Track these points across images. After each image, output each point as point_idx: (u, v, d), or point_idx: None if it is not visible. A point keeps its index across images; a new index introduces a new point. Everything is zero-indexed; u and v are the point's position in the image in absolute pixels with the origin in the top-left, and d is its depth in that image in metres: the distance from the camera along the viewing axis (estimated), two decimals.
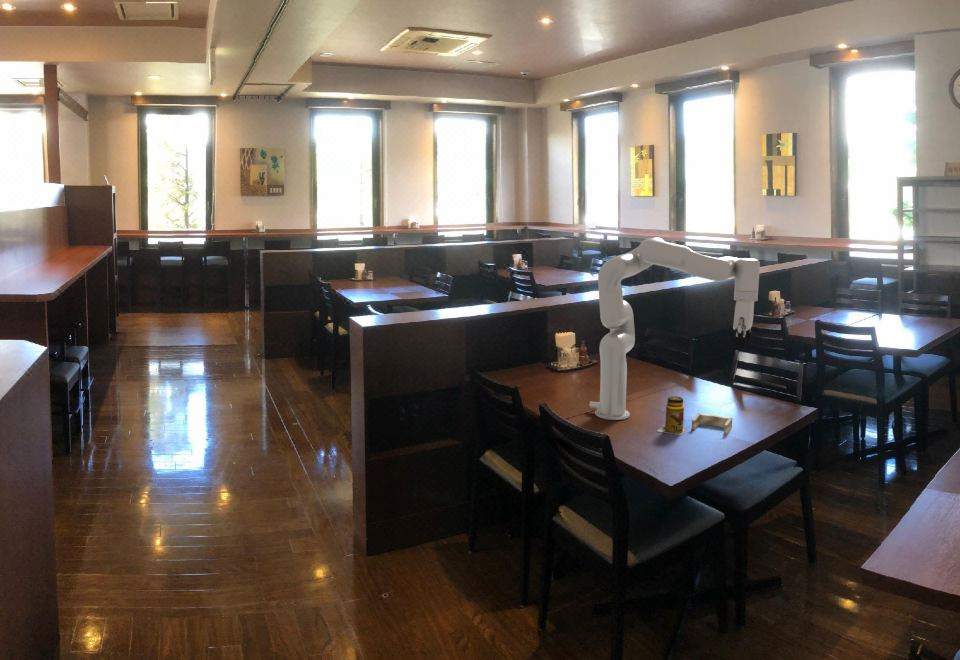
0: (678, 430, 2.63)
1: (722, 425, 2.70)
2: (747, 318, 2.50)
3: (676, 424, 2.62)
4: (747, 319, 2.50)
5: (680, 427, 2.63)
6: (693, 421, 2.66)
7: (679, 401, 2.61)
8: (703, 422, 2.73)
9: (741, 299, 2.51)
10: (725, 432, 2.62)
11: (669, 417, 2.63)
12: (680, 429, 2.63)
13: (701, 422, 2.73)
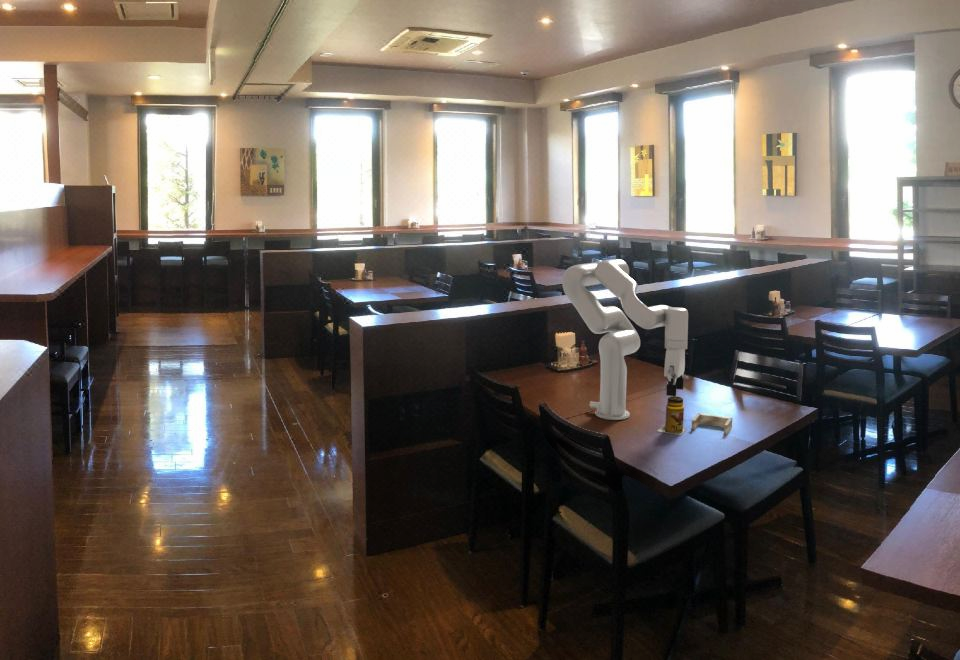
0: (678, 430, 2.63)
1: (722, 425, 2.70)
2: (677, 366, 2.57)
3: (676, 424, 2.62)
4: (677, 367, 2.57)
5: (680, 427, 2.63)
6: (693, 421, 2.66)
7: (679, 401, 2.61)
8: (703, 422, 2.73)
9: (671, 348, 2.58)
10: (725, 432, 2.62)
11: (669, 417, 2.63)
12: (680, 429, 2.63)
13: (701, 422, 2.73)
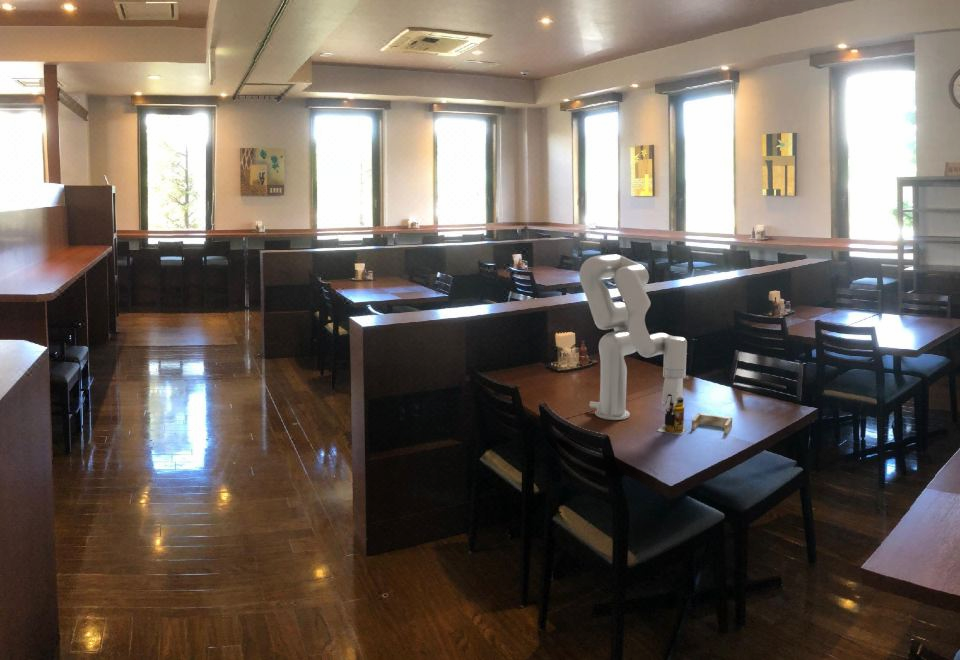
0: (678, 430, 2.63)
1: (722, 425, 2.70)
2: (674, 395, 2.59)
3: (676, 424, 2.63)
4: (674, 396, 2.59)
5: (680, 427, 2.63)
6: (693, 421, 2.66)
7: (679, 401, 2.62)
8: (703, 422, 2.73)
9: (669, 376, 2.60)
10: (725, 432, 2.62)
11: None
12: (680, 429, 2.63)
13: (701, 422, 2.73)
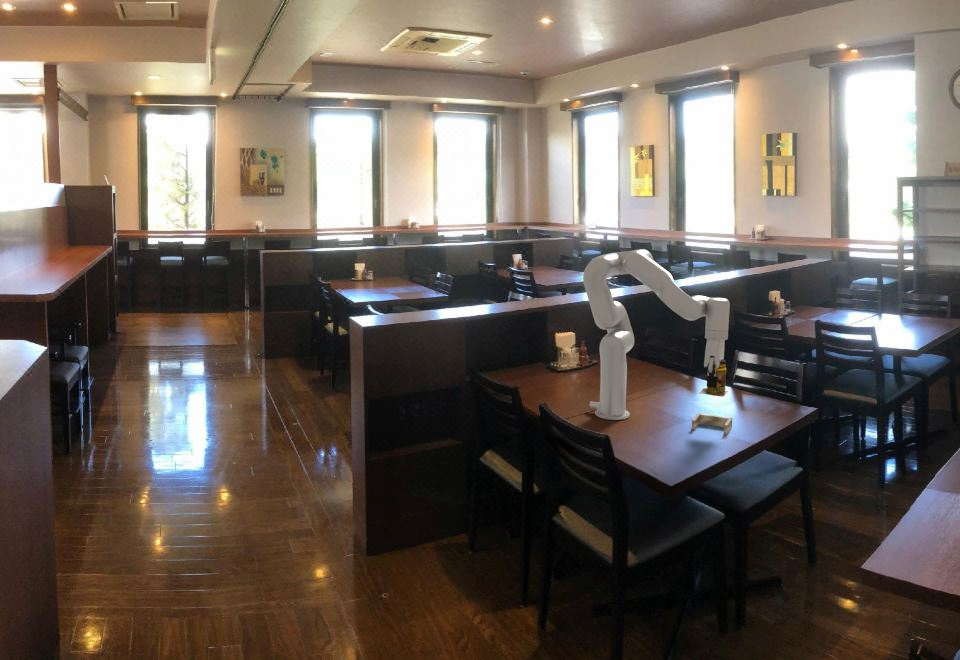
0: (720, 392, 2.61)
1: (722, 425, 2.70)
2: (717, 356, 2.57)
3: (718, 386, 2.61)
4: (717, 357, 2.57)
5: (722, 389, 2.62)
6: (693, 421, 2.66)
7: (722, 362, 2.60)
8: (703, 422, 2.73)
9: (711, 338, 2.58)
10: (725, 432, 2.62)
11: None
12: (722, 391, 2.62)
13: (701, 422, 2.73)
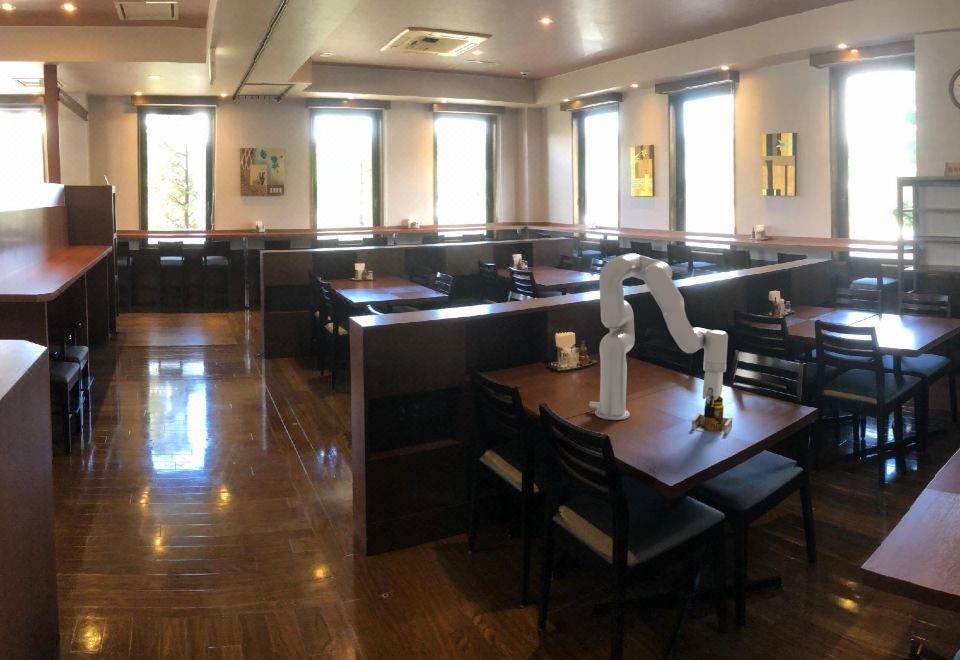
0: (718, 429, 2.64)
1: (722, 425, 2.70)
2: (715, 389, 2.59)
3: (715, 423, 2.63)
4: (715, 390, 2.59)
5: (720, 426, 2.64)
6: (693, 421, 2.66)
7: (719, 400, 2.62)
8: (703, 422, 2.73)
9: (710, 370, 2.60)
10: (725, 432, 2.62)
11: None
12: (720, 428, 2.64)
13: (701, 422, 2.73)
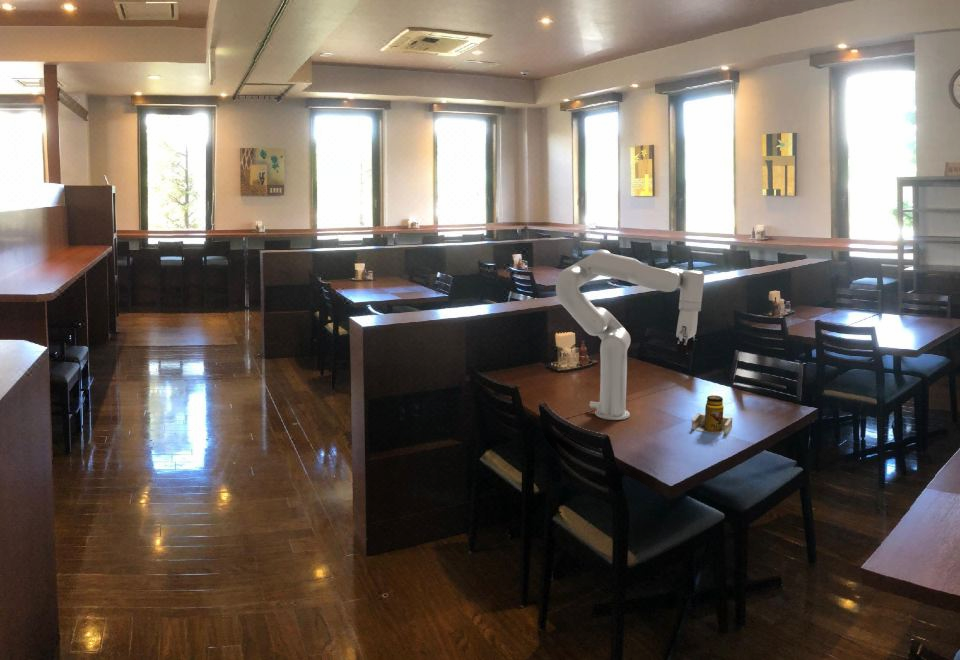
0: (718, 429, 2.64)
1: (722, 425, 2.70)
2: (689, 327, 2.64)
3: (715, 423, 2.63)
4: (689, 328, 2.64)
5: (720, 426, 2.64)
6: (693, 421, 2.66)
7: (719, 400, 2.62)
8: (703, 422, 2.73)
9: (684, 309, 2.65)
10: (725, 432, 2.62)
11: (709, 416, 2.64)
12: (720, 428, 2.64)
13: (701, 422, 2.73)
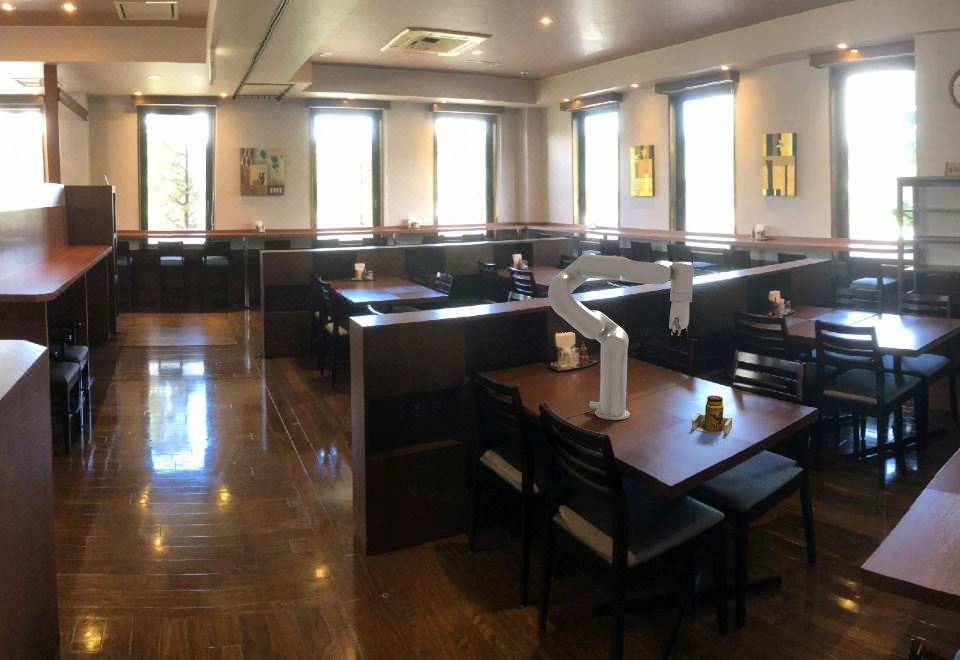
0: (718, 429, 2.64)
1: (722, 425, 2.70)
2: (681, 318, 2.66)
3: (715, 423, 2.63)
4: (681, 319, 2.66)
5: (720, 426, 2.64)
6: (693, 421, 2.66)
7: (719, 400, 2.62)
8: (703, 422, 2.73)
9: (676, 300, 2.67)
10: (725, 432, 2.62)
11: (709, 416, 2.64)
12: (720, 428, 2.64)
13: (701, 422, 2.73)
